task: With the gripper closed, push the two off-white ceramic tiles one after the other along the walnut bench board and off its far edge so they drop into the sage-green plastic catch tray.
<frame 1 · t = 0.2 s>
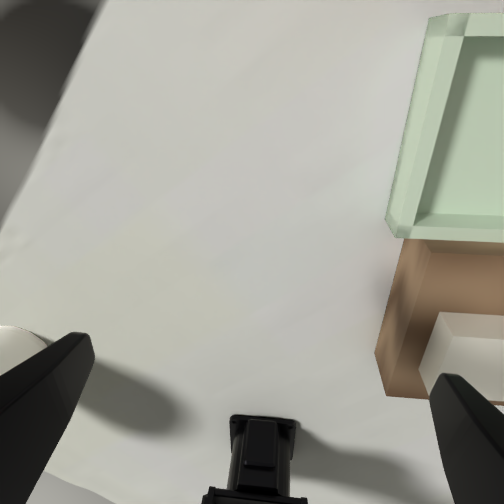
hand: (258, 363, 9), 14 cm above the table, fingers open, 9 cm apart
tile a: (470, 345, 21), point 4 cm above the table, touching bench board
foam cup: (21, 348, 32), on the table
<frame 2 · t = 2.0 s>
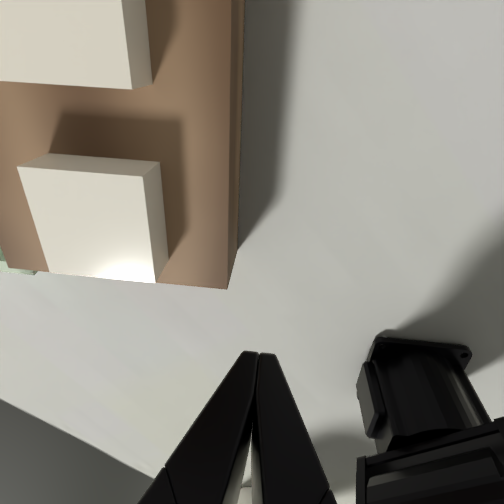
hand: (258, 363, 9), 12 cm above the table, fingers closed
tile a: (112, 210, 16), point 4 cm above the table, touching bench board
tile b: (75, 0, 12), point 4 cm above the table, touching bench board
bench board: (125, 106, 17), on the table
foam cup: (256, 499, 38), on the table
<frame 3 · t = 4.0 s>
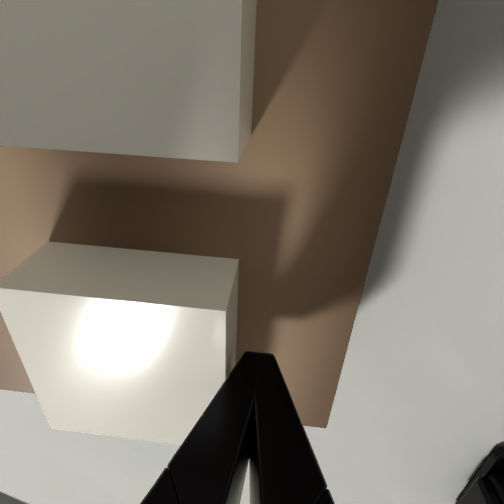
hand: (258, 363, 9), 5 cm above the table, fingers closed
tile a: (152, 323, 10), point 4 cm above the table, touching bench board, gripper
bench board: (172, 150, 11), on the table
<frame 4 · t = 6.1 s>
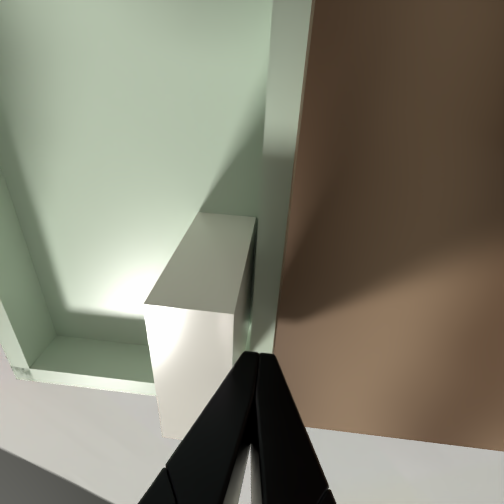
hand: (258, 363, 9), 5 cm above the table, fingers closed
tile a: (243, 322, 11), point 3 cm above the table, tilted 90°, touching catch tray, gripper
catch tray: (132, 146, 11), on the table
bench board: (481, 173, 11), on the table
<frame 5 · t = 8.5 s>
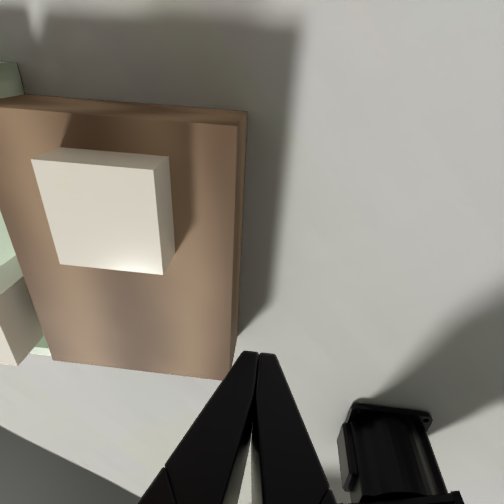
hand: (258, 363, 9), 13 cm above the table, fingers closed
tile a: (32, 308, 22), point 3 cm above the table, tilted 90°, touching catch tray
tile b: (121, 203, 16), point 4 cm above the table, touching bench board
bench board: (149, 236, 22), on the table
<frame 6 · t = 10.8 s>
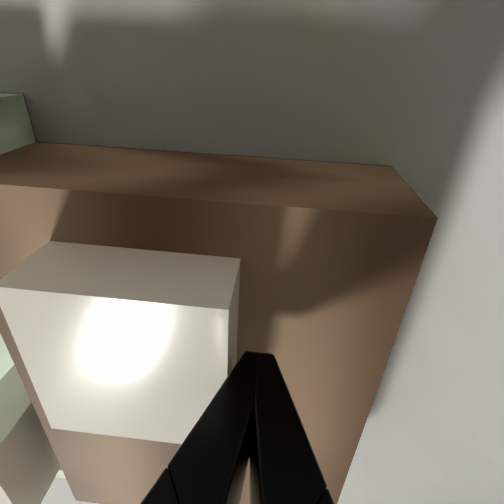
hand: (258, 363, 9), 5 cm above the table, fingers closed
tile a: (47, 436, 15), point 3 cm above the table, tilted 90°, touching catch tray
tile b: (153, 322, 10), point 4 cm above the table, touching gripper
bench board: (212, 331, 15), on the table
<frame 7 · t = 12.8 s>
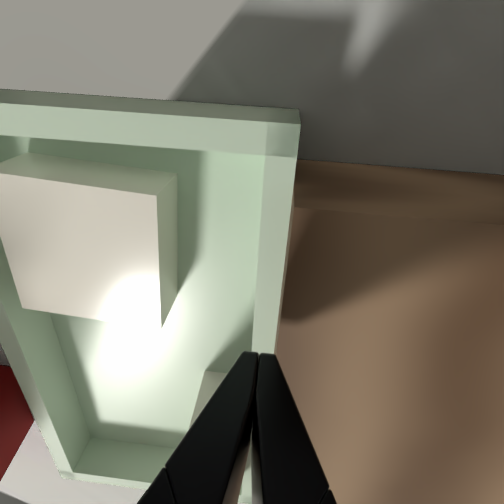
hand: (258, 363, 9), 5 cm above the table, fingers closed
tile a: (238, 461, 15), point 3 cm above the table, tilted 90°, touching catch tray
tile b: (80, 259, 11), point 3 cm above the table, tilted 180°, touching catch tray
catch tray: (156, 325, 15), on the table
bench board: (410, 353, 15), on the table
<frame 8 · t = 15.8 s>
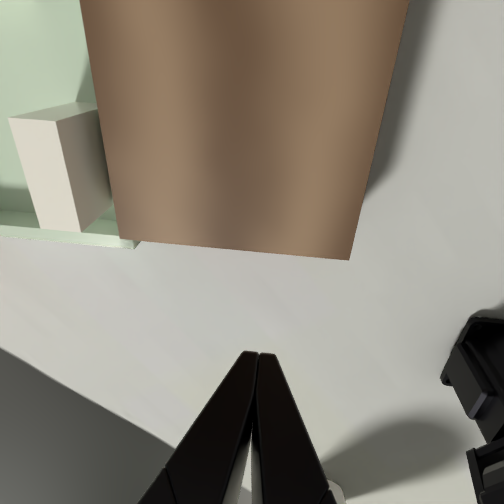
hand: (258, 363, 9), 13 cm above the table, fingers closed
tile a: (97, 165, 17), point 3 cm above the table, tilted 90°, touching catch tray
catch tray: (30, 57, 18), on the table
bench board: (247, 71, 17), on the table
foam cup: (313, 490, 37), on the table
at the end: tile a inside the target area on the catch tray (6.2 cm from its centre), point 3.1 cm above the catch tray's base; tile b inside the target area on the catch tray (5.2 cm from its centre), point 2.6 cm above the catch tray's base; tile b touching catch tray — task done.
